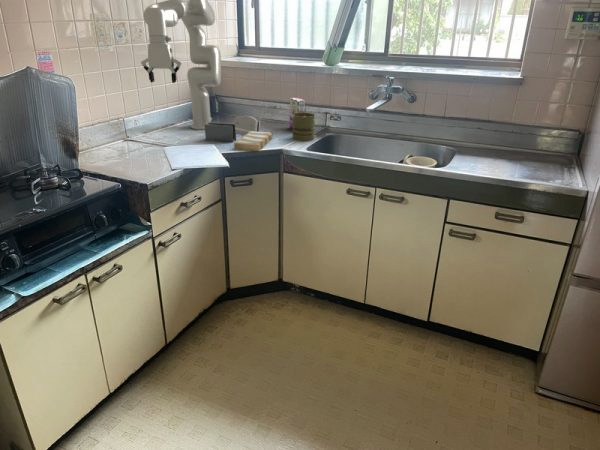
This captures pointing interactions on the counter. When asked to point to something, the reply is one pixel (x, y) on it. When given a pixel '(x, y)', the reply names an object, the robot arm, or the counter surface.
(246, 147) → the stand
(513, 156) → the counter surface
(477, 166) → the counter surface
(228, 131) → the housing
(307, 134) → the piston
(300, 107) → the candy bar box
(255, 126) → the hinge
